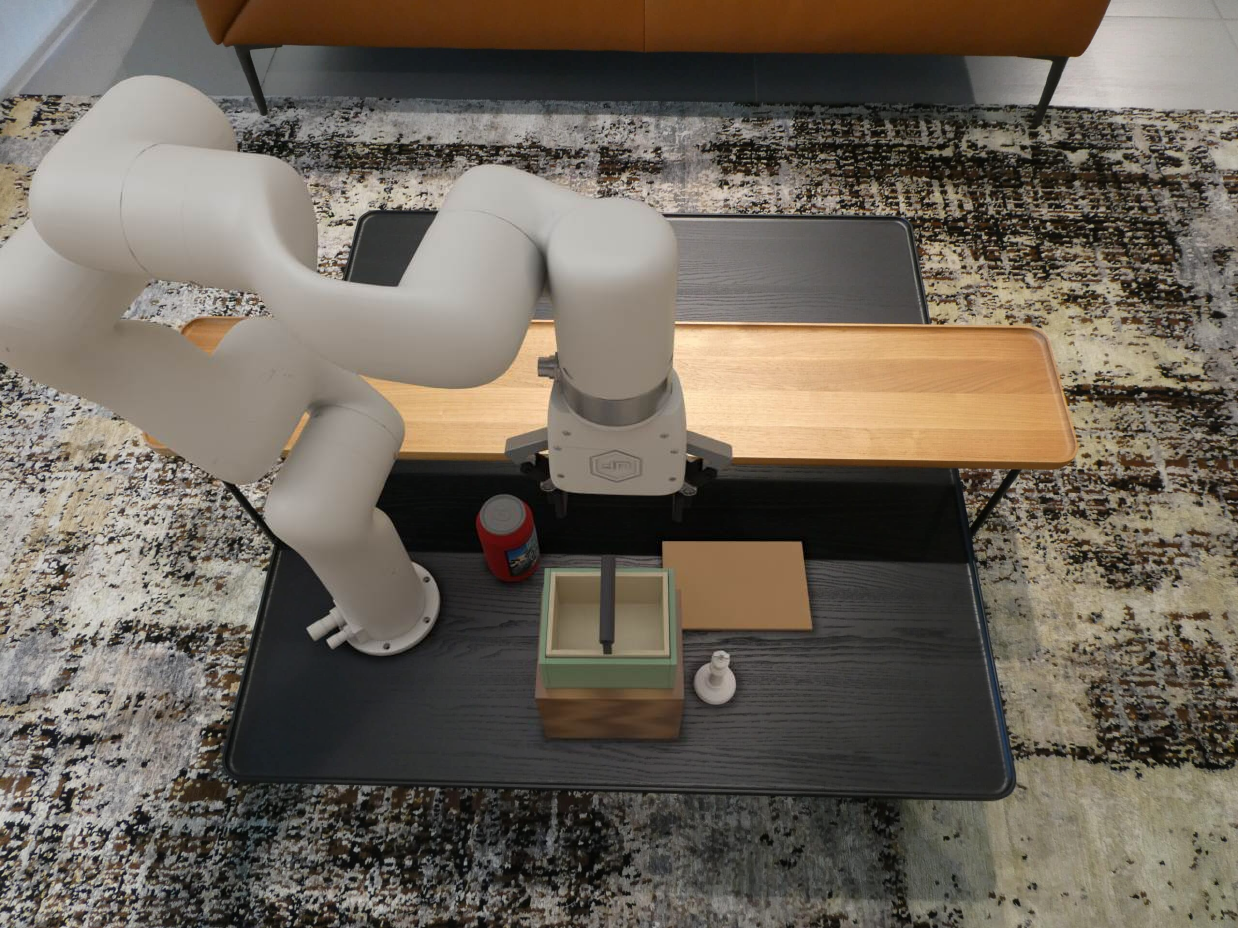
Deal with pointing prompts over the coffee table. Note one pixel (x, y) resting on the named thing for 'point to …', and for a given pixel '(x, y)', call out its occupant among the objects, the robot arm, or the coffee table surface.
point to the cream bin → (608, 614)
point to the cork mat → (740, 585)
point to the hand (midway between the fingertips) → (619, 504)
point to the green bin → (608, 669)
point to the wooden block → (613, 705)
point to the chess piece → (715, 680)
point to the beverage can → (508, 537)
